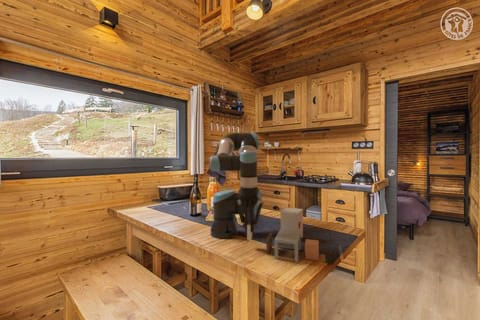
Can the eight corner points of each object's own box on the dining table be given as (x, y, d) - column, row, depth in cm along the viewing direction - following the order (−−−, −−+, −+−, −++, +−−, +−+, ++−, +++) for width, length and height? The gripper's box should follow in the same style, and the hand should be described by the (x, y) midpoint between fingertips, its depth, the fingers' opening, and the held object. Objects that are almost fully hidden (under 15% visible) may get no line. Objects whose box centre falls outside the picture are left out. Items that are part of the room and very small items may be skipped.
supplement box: (298, 244, 107) (297, 212, 106) (280, 240, 112) (279, 210, 111) (303, 237, 114) (303, 208, 114) (286, 234, 119) (286, 206, 119)
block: (305, 258, 89) (305, 243, 89) (306, 253, 94) (305, 239, 94) (318, 260, 87) (318, 245, 87) (318, 254, 92) (318, 240, 92)
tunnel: (274, 262, 89) (274, 239, 89) (280, 248, 102) (280, 228, 101) (297, 265, 86) (297, 242, 86) (300, 251, 98) (300, 230, 98)
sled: (266, 257, 94) (266, 238, 93) (270, 250, 100) (270, 232, 100) (325, 265, 86) (325, 245, 85) (325, 257, 92) (325, 238, 92)
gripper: (232, 187, 98) (233, 240, 99) (261, 188, 93) (261, 243, 94) (238, 184, 105) (239, 233, 106) (265, 185, 100) (265, 237, 102)
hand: (249, 238), depth 100 cm, fingers closed
